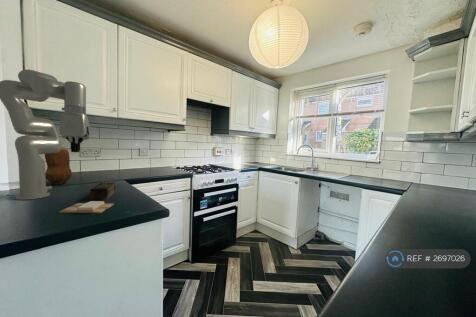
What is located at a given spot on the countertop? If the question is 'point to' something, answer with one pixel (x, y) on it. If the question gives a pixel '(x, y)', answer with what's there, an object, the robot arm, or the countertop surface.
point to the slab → (90, 206)
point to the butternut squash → (58, 167)
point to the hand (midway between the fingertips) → (75, 152)
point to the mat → (74, 210)
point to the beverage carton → (102, 191)
